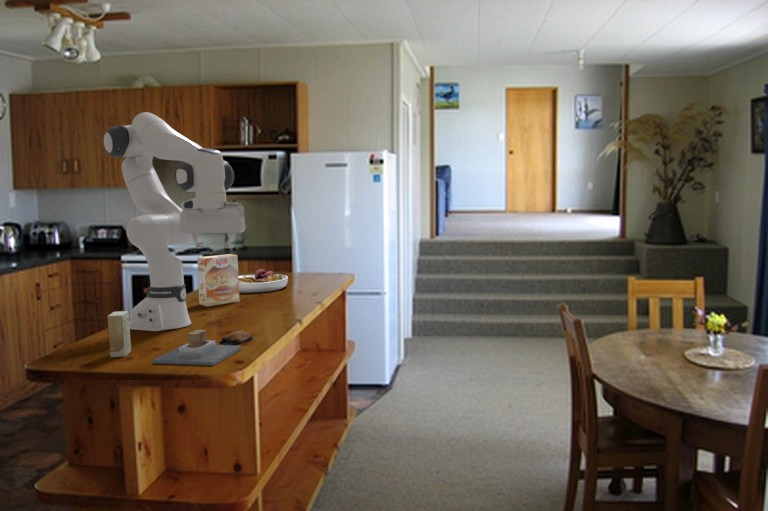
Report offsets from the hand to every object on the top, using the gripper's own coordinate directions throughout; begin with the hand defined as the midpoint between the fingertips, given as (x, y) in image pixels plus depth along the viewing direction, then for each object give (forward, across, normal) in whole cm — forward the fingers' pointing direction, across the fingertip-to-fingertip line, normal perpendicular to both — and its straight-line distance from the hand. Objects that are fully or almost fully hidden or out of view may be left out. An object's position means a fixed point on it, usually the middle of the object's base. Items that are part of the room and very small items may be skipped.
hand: (213, 248), depth 204 cm
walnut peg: (+28, -2, +17) cm, 33 cm away
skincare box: (+29, +22, +18) cm, 41 cm away
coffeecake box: (+29, +30, -63) cm, 76 cm away
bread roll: (+30, -5, -2) cm, 30 cm away
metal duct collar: (+29, -2, +17) cm, 34 cm away
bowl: (+30, +30, -100) cm, 109 cm away
